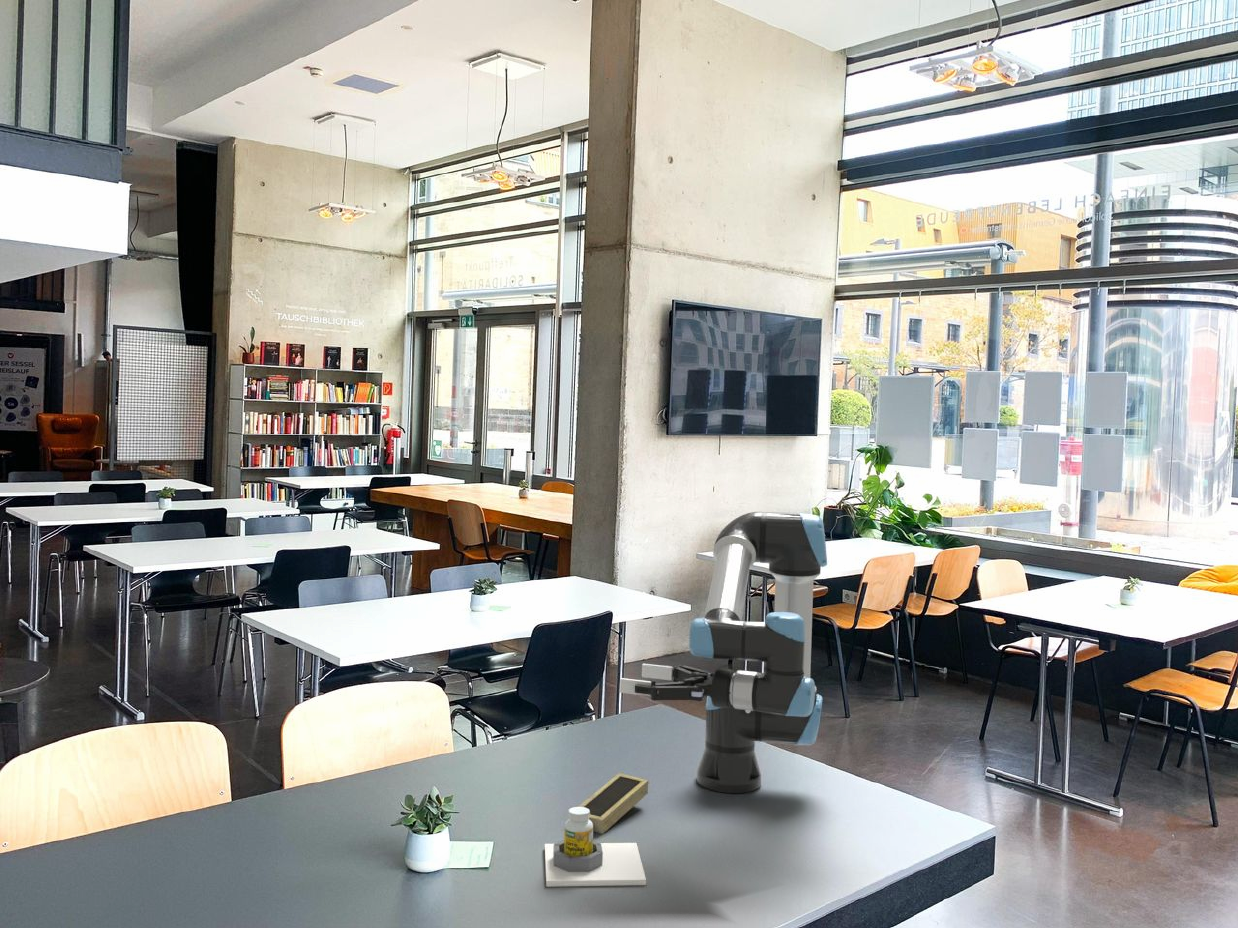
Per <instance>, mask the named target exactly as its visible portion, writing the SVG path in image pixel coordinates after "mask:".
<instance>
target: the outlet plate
mask: <svg viewBox="0 0 1238 928" xmlns="http://www.w3.org/2000/svg"><path fill="white" fill-rule="evenodd" d="M564 840H565V839H563V840H560V841H558V842H555V843H544V861H545V863H544V864H545V885H546V887H548V888H549V887H598V886H599V887H601V886H603V887H604V886H605V887H606V886H607V887H608V886H612V887H613V886H646V885H647V877H646V875H645V874H646V873H645V870H644V866H643V862H642V860H641V855H640V852H639V847H638V845H637V842H604V843H603V842H597V841H596V840H593V853H592V854H590V855H588V856H569V855H567V854H564Z"/></svg>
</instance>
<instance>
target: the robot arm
mask: <svg viewBox="0 0 1238 928" xmlns="http://www.w3.org/2000/svg"><path fill="white" fill-rule="evenodd" d="M826 545H827V544H826V535H825V527H824V521H823V519H822V517H821V516H819V515H818V514H810V513H803V512H773V511H772V512H768V511H767V512H765V511H754V512H753V511H752V512H747V513H744V514H742V515H740V516H738V517H736V518H734V519H733V520H732V521H730V522H729V523H728V524H726V526H724V528H722V530H721V531H720V533H719V534H718V535H717V537H716V539H715V542H714V545H713V546H714V547H713V549H712V555H713V560H714V561H715V562H714V567H713V572H712V578H711V582H710V587H709V592H708V596H707V602H706V606H705V610H704V616H703V617H700V618H694V619H692V621H691V622H690V627H689V637H688V641H689V643H688V645H689V651H690V654H691V655H692V656H694V657H699V658H708V660H709V659H710V660H711V659H714V660H715V659H717V660H718V659H719V660H733V661H734V660H735V661H746V662H747V661H749V662H760V663H761V662H762V663H764V667H763V671H764V672H758V671H751V670H744V669H743V670H741V669H737V670H736V671H735V670H734V669H730V668H724V667H723V668H721V667H718V668H716V669H715V670H714V671H708V670H704V669H700V668H696V667H692V666H690V665H689V666H688V665H684V664H679V665H677V666H676V665H675V666H674V667H673V666H669V665H661V664H659V665H658V664H650V663H642V664H641V678H647V679H651V681H649V680H643V679H631V678H624V677H621V678H620V679H619V680H620V681H619V693H621V694H628V695H630V694H631V695H637V696H645V697H650V700H651V701H654V702H655V701H695V702H696V701H697V702H701V701H703V698H704V697H706V704H705V710H706V712H705V742H704V743H705V744H704V750H703V753H702V756H701V758H700V761H699V764H698V767H697V769H696V782H697V784H698V785H700V786H701V787H703V788H705V789H707V790H711V791H715V792H719V793H726V794H727V793H728V794H743V793H750V792H752V791H756V790H757V789H759V788H760V787H761V786H762V772H761V770H760V766H759V762H758V758H757V755H756V752H755V751H756V749H755V748H756V747H755V746H756V745H755V744H756V743H755V742H759V743H760V742H763V743H771V744H781V745H792V746H811V745H813V744H815V742H816V741H817V738H818V734H819V728H820V721H821V715H822V709H823V708H822V707H823V696H822V695H820V694H819V693H817V690H818V689H817V686H816V684H815V681H814V679H813V678H811V663H812V659H811V658H812V635H813V634H812V633H813V631H812V630H813V629H812V628H813V604H814V603H813V601H814V600H813V599H814V598H813V597H814V581H815V579H817V577H819V576H820V575H821V569H822V568H824V567H827V566H828V557H827V546H826ZM755 563H760V564H769V565H768V573H770V574H771V575H772V576H773V577H774V584H775V585H774V612H773V611H772V612H768V613H767V615H766V616H765V619H764V621H747V620H746V621H745V620H743V615H744V608H745V601H746V597H747V596H746V595H747V588H748V582H749V576H750V575H749V574H750V569H751V568H752V566H754V564H755ZM655 679H656V680H664V681H665V680H666V681H672V680H673V681H672V682H657V683H656V681H655Z"/></svg>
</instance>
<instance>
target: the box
mask: <svg viewBox="0 0 1238 928" xmlns="http://www.w3.org/2000/svg"><path fill="white" fill-rule="evenodd" d="M648 791H649V779H644V778H640V777H637V776H632V775H627V774H625V773H617V774H616V775H615V776H614V777H612V778H611V779H610V780H609V781H607V783H605V784H603V786H601V787H600V788H599V789H598V790H597V791H595V792H594V793H593V794H591V796H589V797H588V798H587V799H586V800H584V801H582V803H581V804H580V805H578V806H577V807H585V808H588V809H589V810H590V817H589V820H591V822H592V823H593V833H598V834H601V835H603V834H605V832H606V831H608V830H609V829H610V828H611V827H612V826H613V825H615V824H616V823H617V821H619V820H620V819H621V818H622V817H624V816H625V815H626V813H628V812H629V811H630V810H632V808H634V807H635V806H636V805H637V804H638V803H639V802H640V801H642V799H643V798H644V797H646V796H647V795H648V794H649V792H648Z"/></svg>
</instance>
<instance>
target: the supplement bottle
mask: <svg viewBox="0 0 1238 928" xmlns="http://www.w3.org/2000/svg"><path fill="white" fill-rule="evenodd" d="M567 817H568V820H566V822H565V823H564V839H563V840H564V854H567V855H569V856H588V855H590V854H592V853H593V841H594V831H593V823H592V822H591V820H589V817H590V810H589V809H588V808H585V807H578V806H574V807H571V808H569V809H568V814H567Z"/></svg>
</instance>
